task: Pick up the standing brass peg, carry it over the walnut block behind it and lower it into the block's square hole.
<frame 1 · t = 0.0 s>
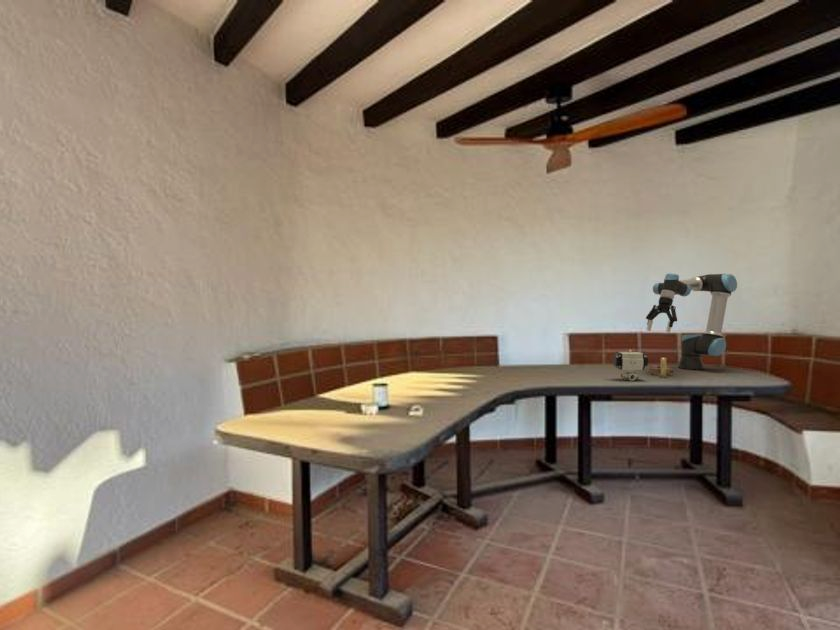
hand: (657, 331, 291), 28 cm above the table, tool tilted 20°, fingers open, 13 cm apart
ball valve: (630, 380, 282), on the table
brass peg: (663, 377, 290), on the table
hole block: (660, 373, 304), on the table
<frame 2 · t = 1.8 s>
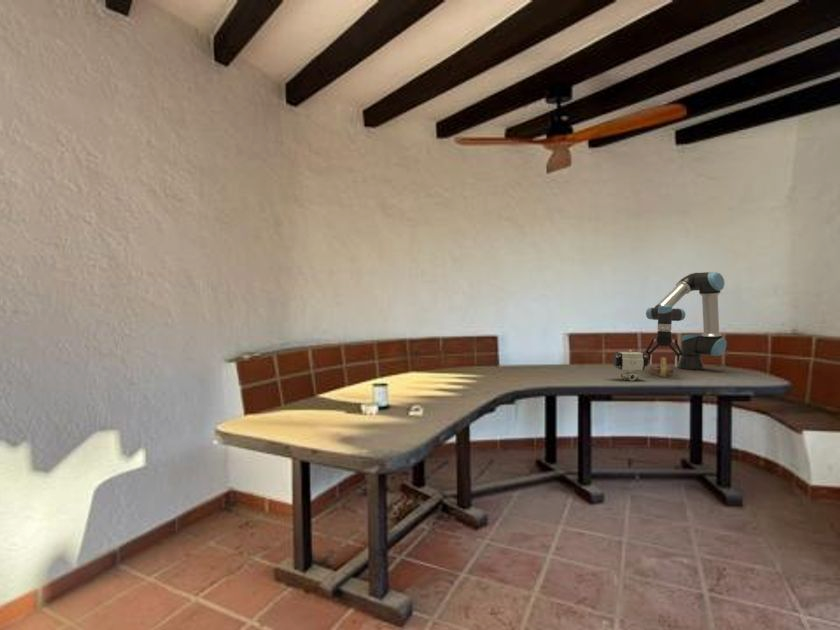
hand: (663, 365, 290), 7 cm above the table, tool pointing down, fingers open, 13 cm apart
nothing on the table moved.
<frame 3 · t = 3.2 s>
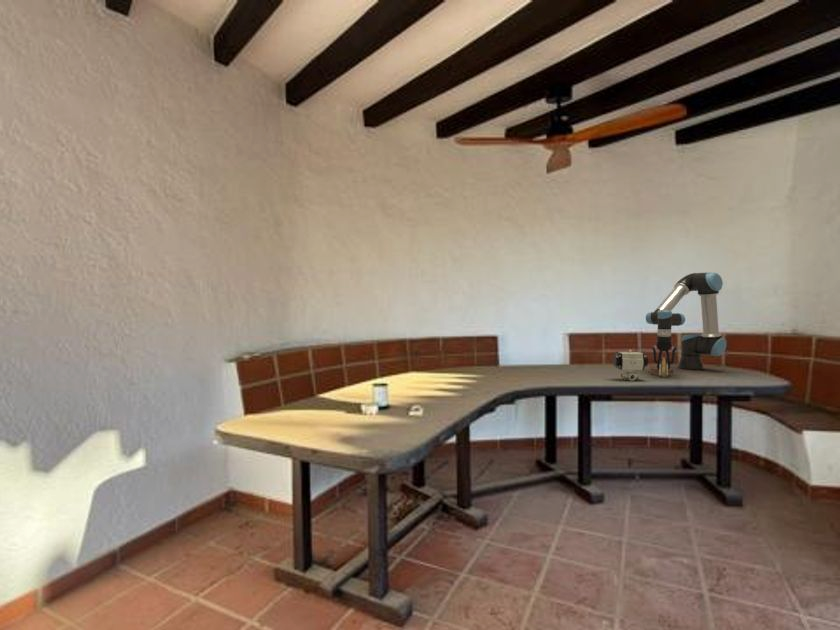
hand: (663, 374, 290), 2 cm above the table, tool pointing down, fingers closed on brass peg, 3 cm apart
brass peg: (663, 377, 290), on the table, touching gripper
everything else where it was.
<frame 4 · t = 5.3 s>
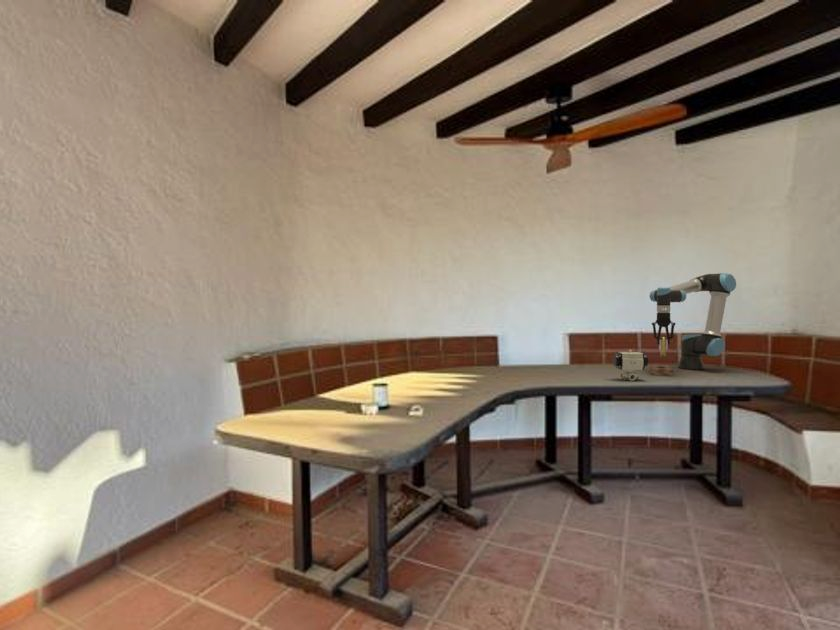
hand: (663, 349, 298), 16 cm above the table, tool pointing down, fingers closed on brass peg, 3 cm apart
brass peg: (663, 356, 299), point 12 cm above the table, touching gripper
everything else where it was.
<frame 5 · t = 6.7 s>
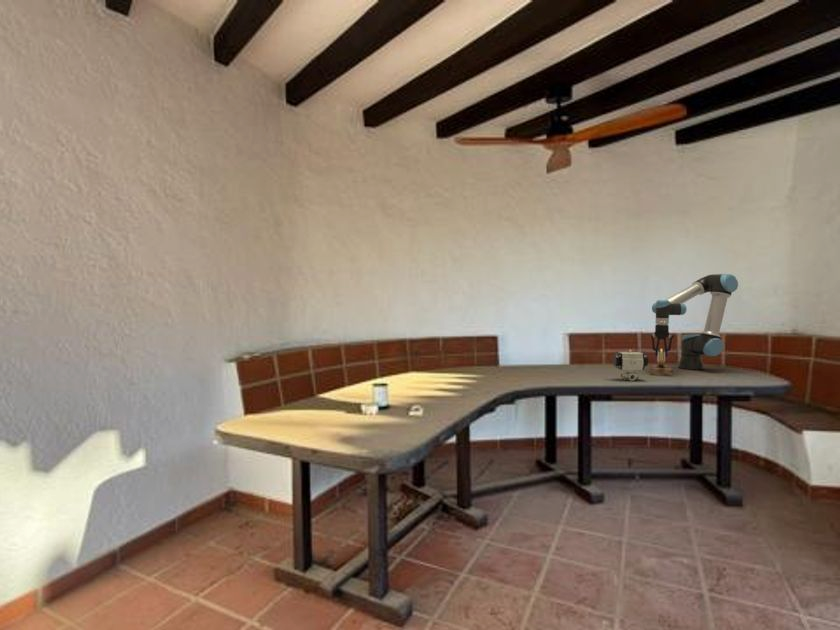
hand: (661, 361, 303), 8 cm above the table, tool pointing down, fingers closed on brass peg, 3 cm apart
brass peg: (660, 367, 303), point 4 cm above the table, touching gripper
everything else where it was.
when the fingers open (5 cm above the table, at t = 7.9 s): brass peg drops 2 cm, resting in hole block.
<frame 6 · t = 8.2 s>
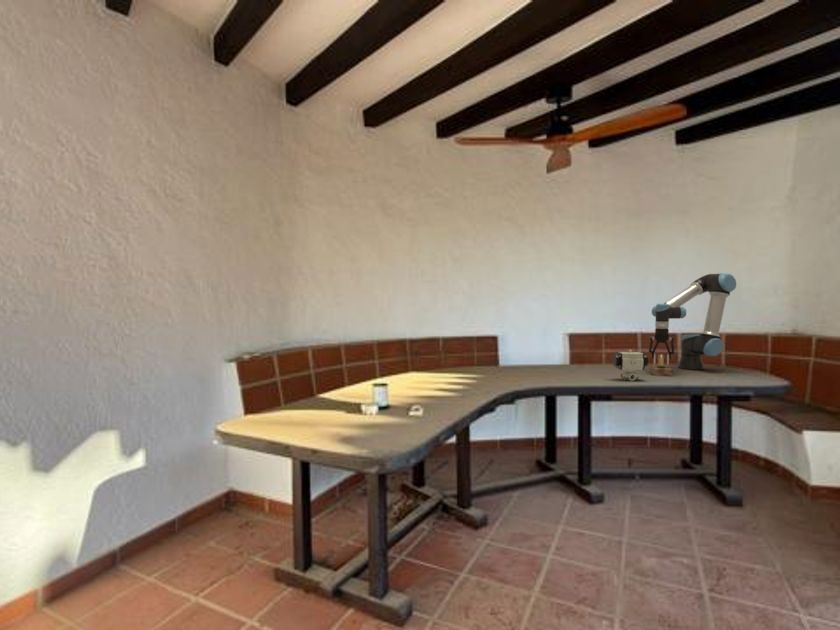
hand: (661, 364, 303), 6 cm above the table, tool pointing down, fingers open, 7 cm apart
brass peg: (660, 373, 304), resting in hole block
everything else where it was.
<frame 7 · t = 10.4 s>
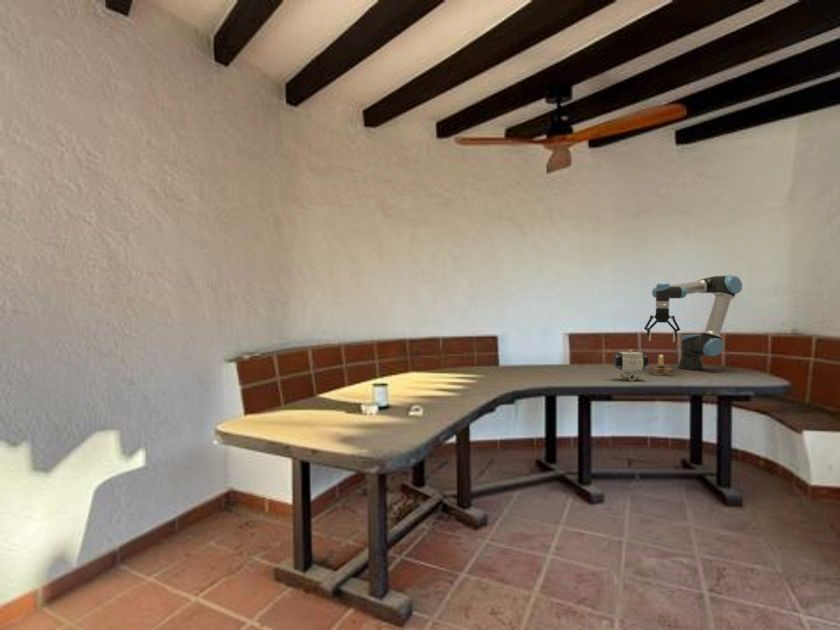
hand: (661, 341, 303), 20 cm above the table, tool pointing down, fingers open, 13 cm apart
nothing on the table moved.
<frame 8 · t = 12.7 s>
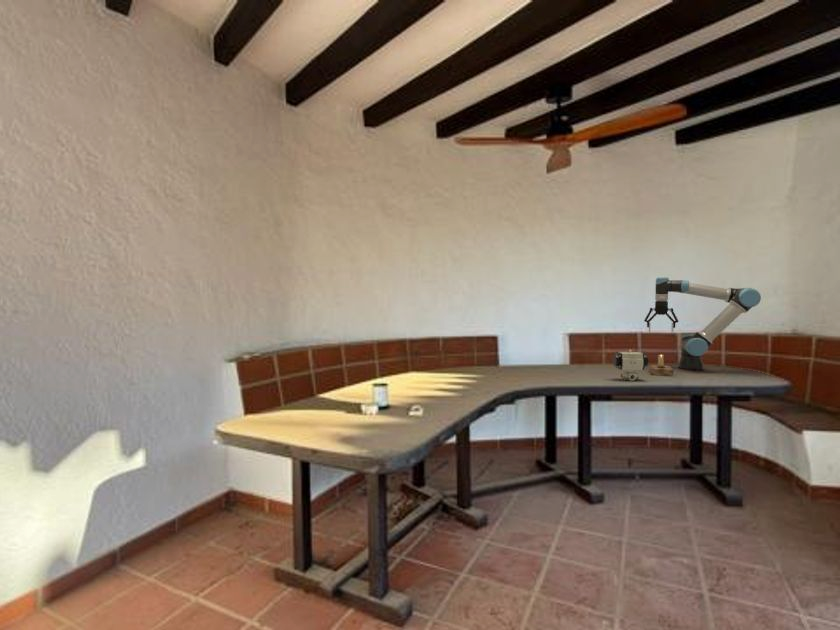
hand: (660, 332, 318), 25 cm above the table, tool pointing down, fingers open, 13 cm apart
nothing on the table moved.
at the end: brass peg 0.1 cm off-centre on the hole block, point 0.0 cm above the hole block's base; brass peg tilted 0°; the gripper is holding nothing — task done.
